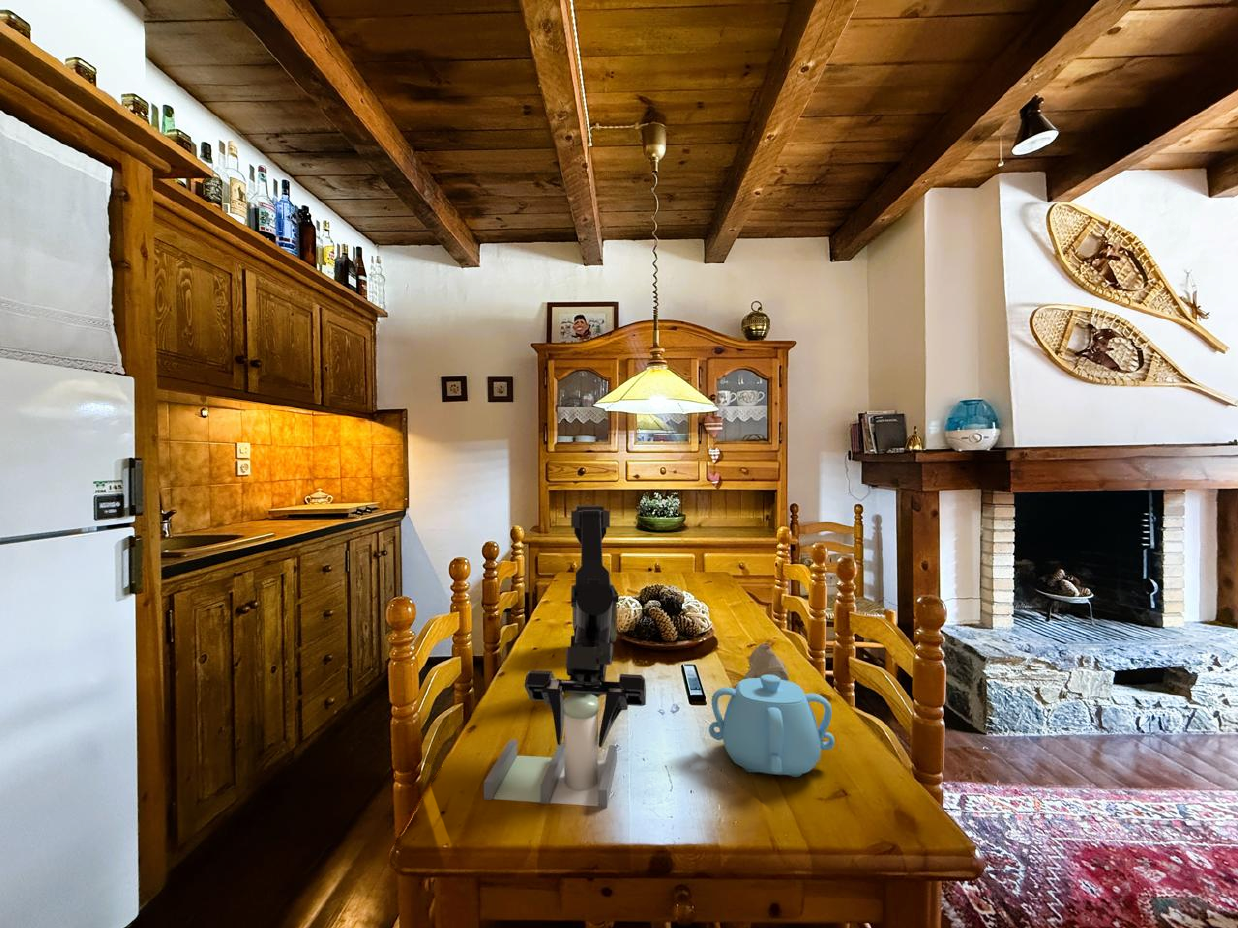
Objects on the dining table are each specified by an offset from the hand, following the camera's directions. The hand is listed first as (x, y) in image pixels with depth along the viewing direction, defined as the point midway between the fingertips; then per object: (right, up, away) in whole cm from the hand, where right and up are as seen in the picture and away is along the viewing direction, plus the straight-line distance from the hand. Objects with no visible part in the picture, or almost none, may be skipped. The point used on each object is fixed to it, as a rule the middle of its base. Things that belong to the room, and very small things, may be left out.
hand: (579, 745), depth 81 cm
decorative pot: (+31, -7, +9) cm, 33 cm away
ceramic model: (+38, -7, +37) cm, 54 cm away
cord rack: (-4, -7, +2) cm, 8 cm away
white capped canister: (0, -6, +1) cm, 6 cm away
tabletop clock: (-1, -7, +61) cm, 61 cm away
